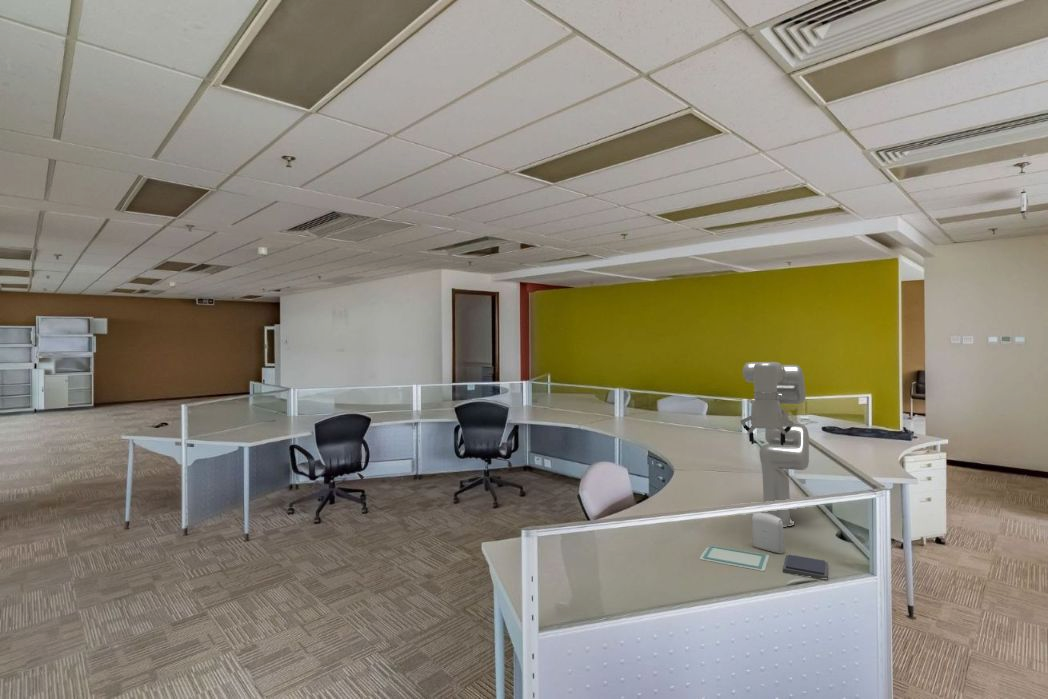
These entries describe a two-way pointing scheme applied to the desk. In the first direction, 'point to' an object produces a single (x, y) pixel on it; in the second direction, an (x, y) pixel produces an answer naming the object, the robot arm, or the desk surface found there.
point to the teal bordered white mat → (735, 557)
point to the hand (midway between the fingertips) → (767, 444)
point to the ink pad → (805, 566)
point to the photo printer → (768, 532)
